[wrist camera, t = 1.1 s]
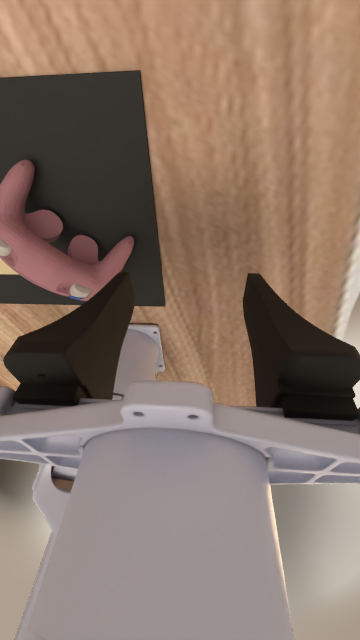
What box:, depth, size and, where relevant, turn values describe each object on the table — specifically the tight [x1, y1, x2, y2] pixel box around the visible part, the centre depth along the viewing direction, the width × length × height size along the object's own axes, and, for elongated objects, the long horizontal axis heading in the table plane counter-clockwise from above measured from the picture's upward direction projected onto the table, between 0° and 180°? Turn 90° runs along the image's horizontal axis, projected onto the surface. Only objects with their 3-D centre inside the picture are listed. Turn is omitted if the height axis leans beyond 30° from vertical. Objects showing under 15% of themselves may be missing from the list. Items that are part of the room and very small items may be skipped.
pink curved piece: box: [0, 160, 134, 301], centre depth 19 cm, size 10×5×7 cm, turn 50°
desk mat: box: [0, 70, 165, 306], centre depth 21 cm, size 18×26×1 cm
